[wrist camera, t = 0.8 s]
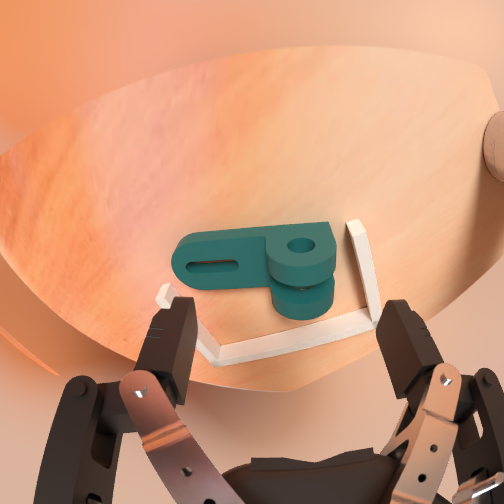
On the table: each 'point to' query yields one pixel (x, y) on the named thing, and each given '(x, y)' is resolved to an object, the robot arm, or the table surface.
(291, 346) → the white open frame
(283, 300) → the bracket
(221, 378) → the table surface
